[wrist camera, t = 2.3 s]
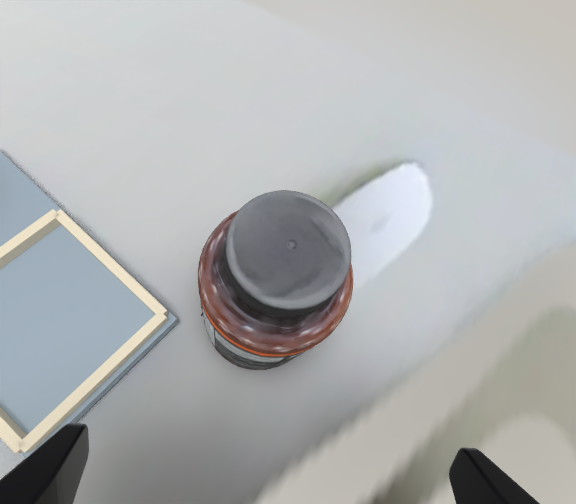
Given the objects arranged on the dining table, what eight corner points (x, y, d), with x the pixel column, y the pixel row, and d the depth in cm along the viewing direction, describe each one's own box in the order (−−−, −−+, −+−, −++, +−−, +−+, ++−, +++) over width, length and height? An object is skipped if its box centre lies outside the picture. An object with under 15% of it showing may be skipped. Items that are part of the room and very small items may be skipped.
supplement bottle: (245, 249, 24) (268, 129, 13) (326, 305, 23) (415, 226, 13) (181, 330, 22) (149, 261, 11) (271, 394, 21) (324, 384, 11)
